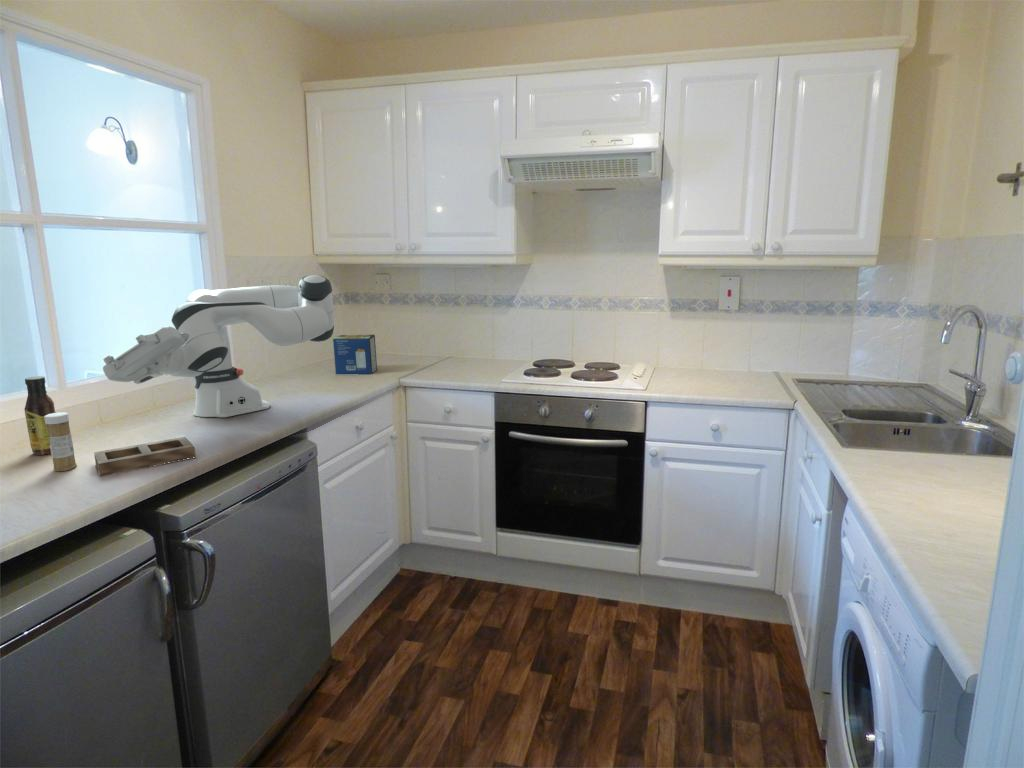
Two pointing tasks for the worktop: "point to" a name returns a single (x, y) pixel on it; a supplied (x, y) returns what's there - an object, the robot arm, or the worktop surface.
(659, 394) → the worktop surface
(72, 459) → the sprinkles bottle
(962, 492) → the worktop surface
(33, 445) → the sauce bottle
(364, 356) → the protein box
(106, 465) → the spice caddy
